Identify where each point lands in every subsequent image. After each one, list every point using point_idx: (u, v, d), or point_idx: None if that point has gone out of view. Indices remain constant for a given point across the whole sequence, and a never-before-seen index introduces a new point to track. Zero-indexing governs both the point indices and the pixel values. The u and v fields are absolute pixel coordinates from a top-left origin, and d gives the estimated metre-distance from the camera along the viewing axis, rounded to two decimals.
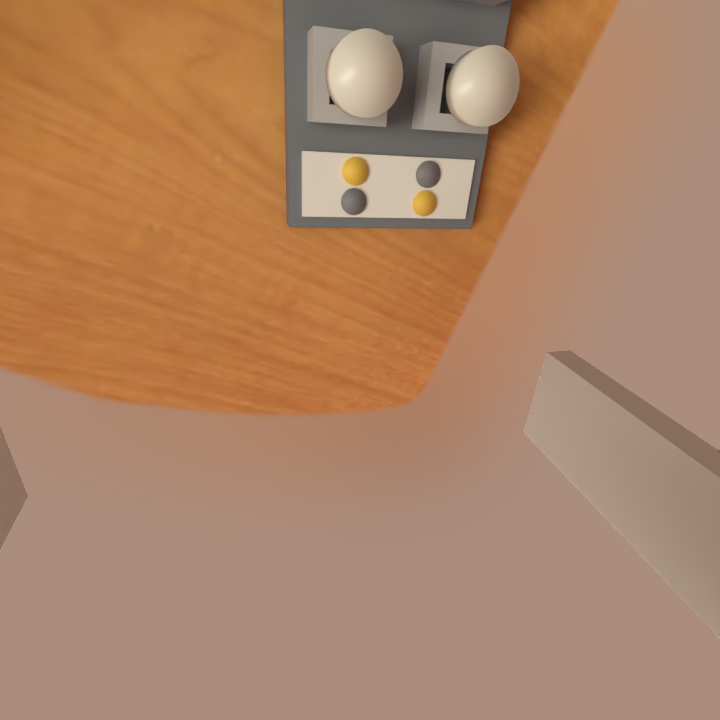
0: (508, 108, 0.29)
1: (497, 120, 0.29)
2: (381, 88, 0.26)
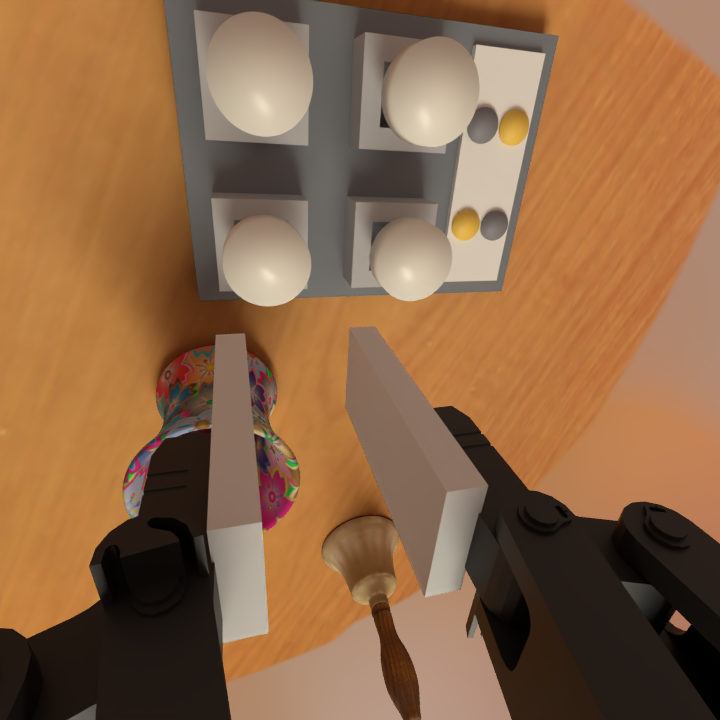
0: (463, 52, 0.20)
1: (474, 71, 0.20)
2: (427, 247, 0.24)
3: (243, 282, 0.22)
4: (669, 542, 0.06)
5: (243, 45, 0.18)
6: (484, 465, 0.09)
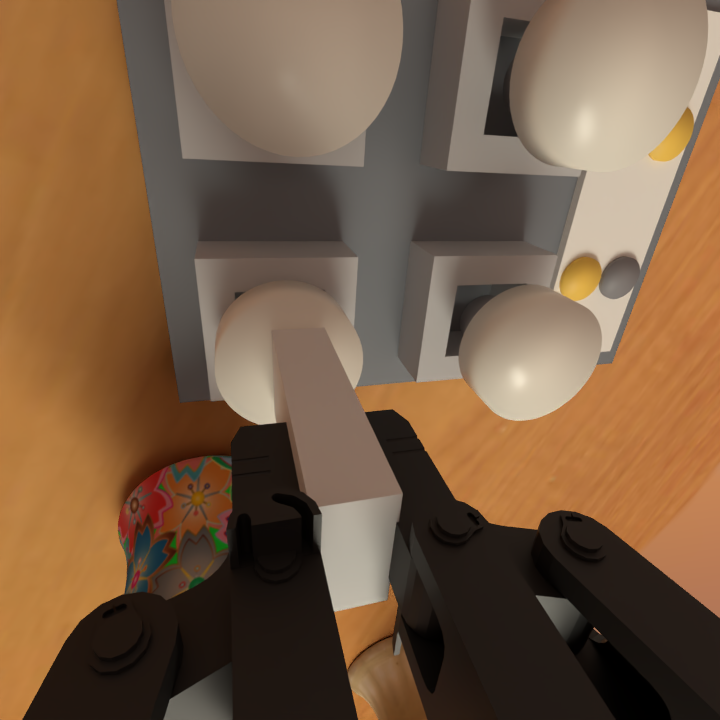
0: None
1: (703, 27, 0.10)
2: (565, 339, 0.14)
3: (251, 396, 0.13)
4: (586, 555, 0.06)
5: None
6: (413, 471, 0.08)
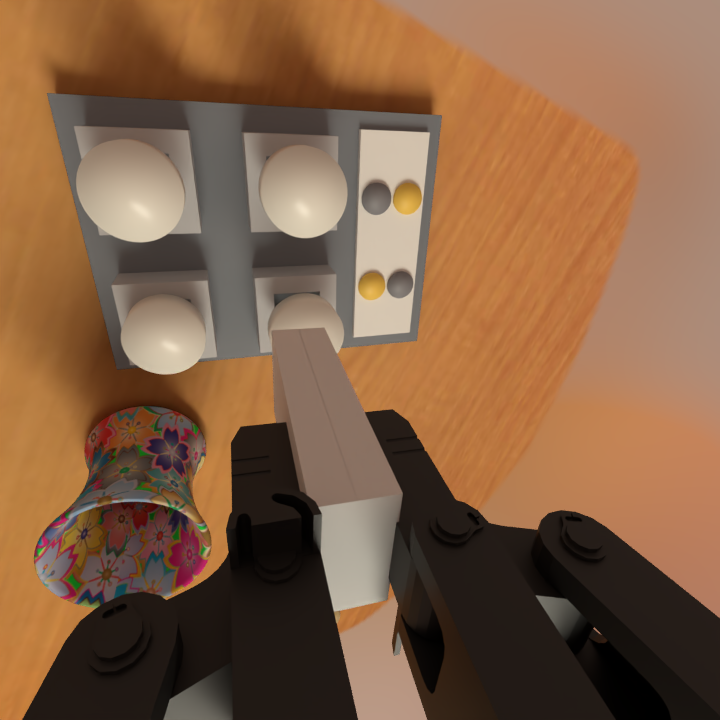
0: (326, 157, 0.22)
1: (339, 171, 0.22)
2: (317, 322, 0.26)
3: (143, 356, 0.25)
4: (586, 555, 0.06)
5: (110, 168, 0.19)
6: (413, 471, 0.08)
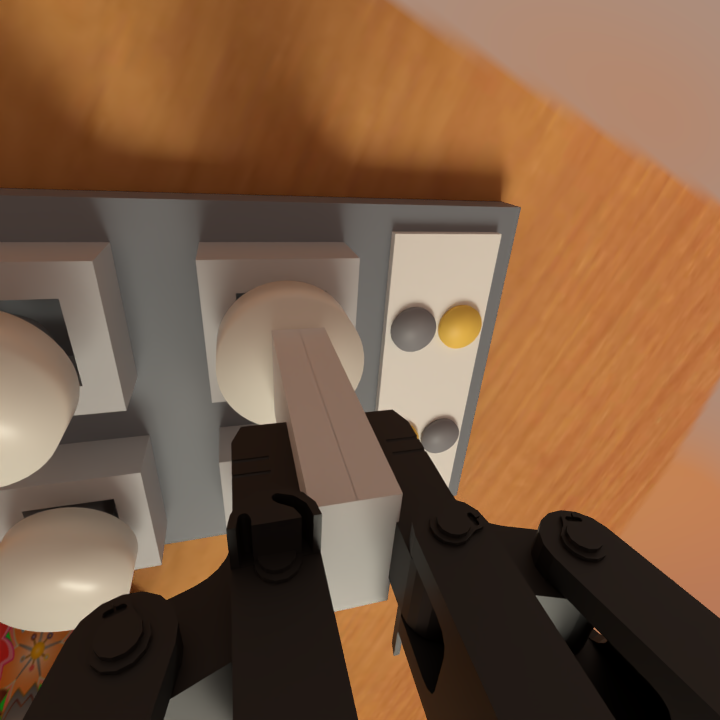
0: (329, 313, 0.12)
1: (352, 332, 0.13)
2: None
3: (23, 614, 0.15)
4: (586, 555, 0.06)
5: None
6: (413, 472, 0.08)
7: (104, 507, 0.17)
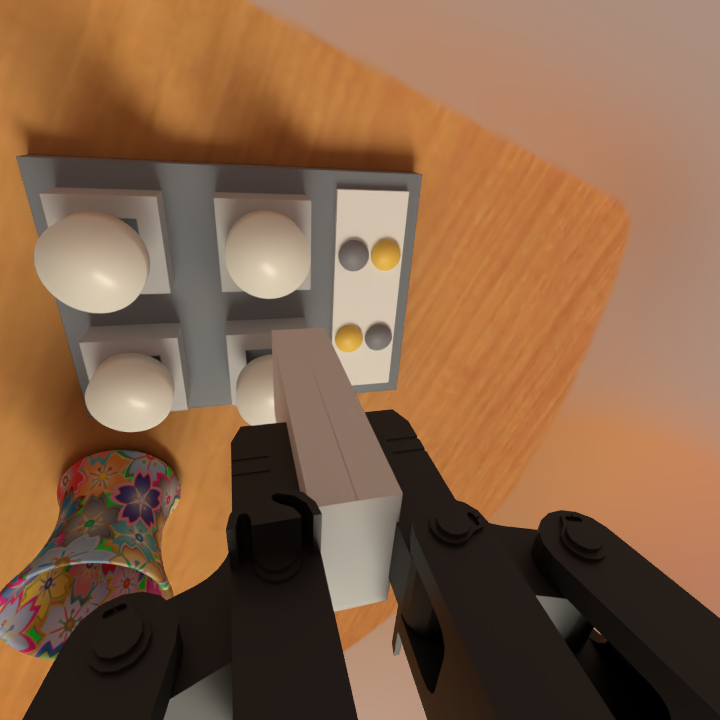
0: (288, 226, 0.22)
1: (302, 238, 0.23)
2: None
3: (108, 415, 0.25)
4: (586, 555, 0.06)
5: (69, 244, 0.19)
6: (413, 472, 0.08)
7: None
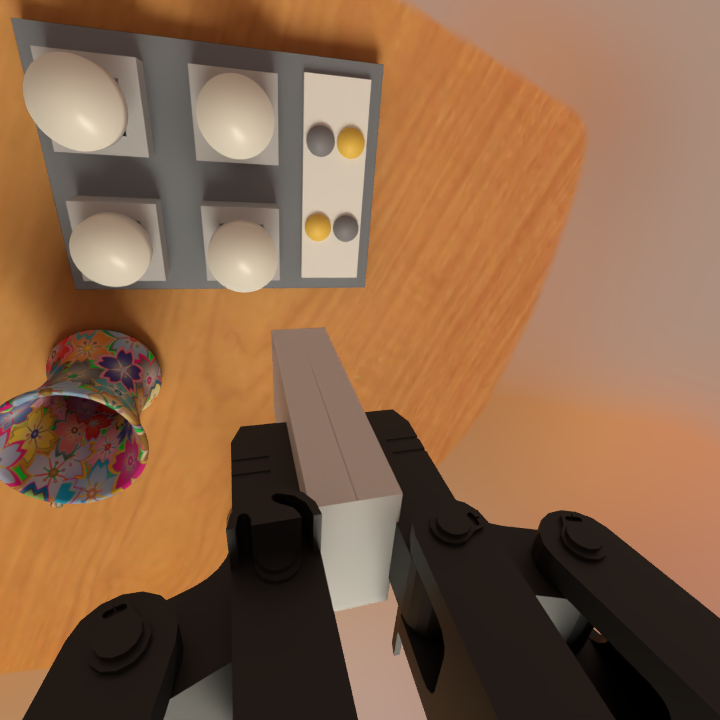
0: (253, 85, 0.25)
1: (266, 99, 0.25)
2: (252, 246, 0.28)
3: (90, 266, 0.27)
4: (586, 554, 0.06)
5: (54, 78, 0.22)
6: (413, 471, 0.08)
7: None
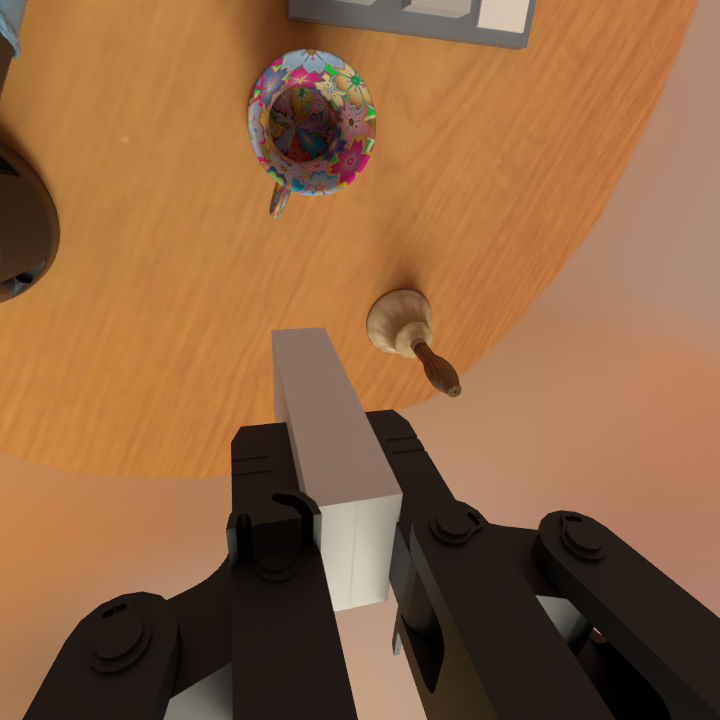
0: None
1: None
2: None
3: None
4: (586, 555, 0.06)
5: None
6: (413, 471, 0.08)
7: None
